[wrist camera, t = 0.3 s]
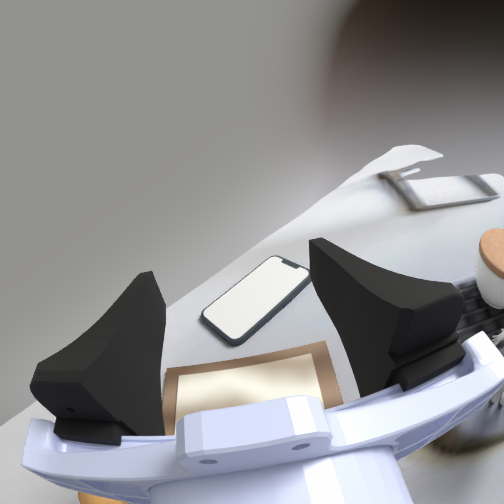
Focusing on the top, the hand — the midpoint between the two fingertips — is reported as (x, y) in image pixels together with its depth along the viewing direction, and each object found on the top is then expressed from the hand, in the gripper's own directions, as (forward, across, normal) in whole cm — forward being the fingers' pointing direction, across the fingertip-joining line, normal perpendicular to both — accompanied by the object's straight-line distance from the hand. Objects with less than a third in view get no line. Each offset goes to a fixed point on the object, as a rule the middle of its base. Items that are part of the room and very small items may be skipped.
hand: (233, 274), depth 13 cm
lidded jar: (+6, -35, +18) cm, 40 cm away
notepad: (+3, +2, +21) cm, 21 cm away
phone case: (+21, -2, +20) cm, 29 cm away
